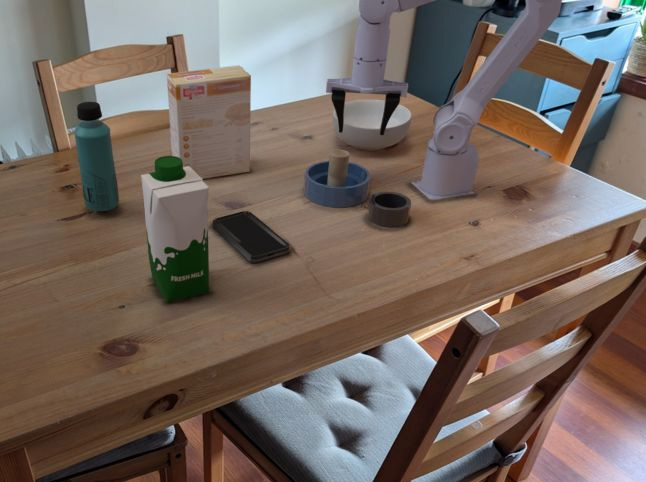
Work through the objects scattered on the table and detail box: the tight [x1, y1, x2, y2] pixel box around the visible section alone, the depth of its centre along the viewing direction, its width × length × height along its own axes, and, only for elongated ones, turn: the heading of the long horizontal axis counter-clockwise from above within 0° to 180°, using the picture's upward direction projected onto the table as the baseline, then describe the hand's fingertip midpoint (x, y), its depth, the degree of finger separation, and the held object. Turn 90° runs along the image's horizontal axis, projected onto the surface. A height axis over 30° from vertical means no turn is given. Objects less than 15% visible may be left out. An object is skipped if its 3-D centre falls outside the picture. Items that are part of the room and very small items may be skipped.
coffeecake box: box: [166, 64, 252, 180], centre depth 136 cm, size 15×7×20 cm, turn 108°
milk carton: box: [140, 155, 210, 304], centre depth 102 cm, size 9×9×20 cm
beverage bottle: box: [73, 101, 120, 212], centre depth 122 cm, size 6×7×20 cm
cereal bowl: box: [332, 99, 412, 152], centre depth 150 cm, size 17×17×7 cm
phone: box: [212, 210, 290, 264], centre depth 120 cm, size 8×1×15 cm
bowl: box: [303, 160, 372, 208], centre depth 131 cm, size 12×12×4 cm
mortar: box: [367, 191, 412, 229], centre depth 124 cm, size 7×7×4 cm
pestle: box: [327, 148, 351, 187], centre depth 130 cm, size 4×4×8 cm
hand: (361, 132), depth 130 cm, fingers open, 7 cm apart
